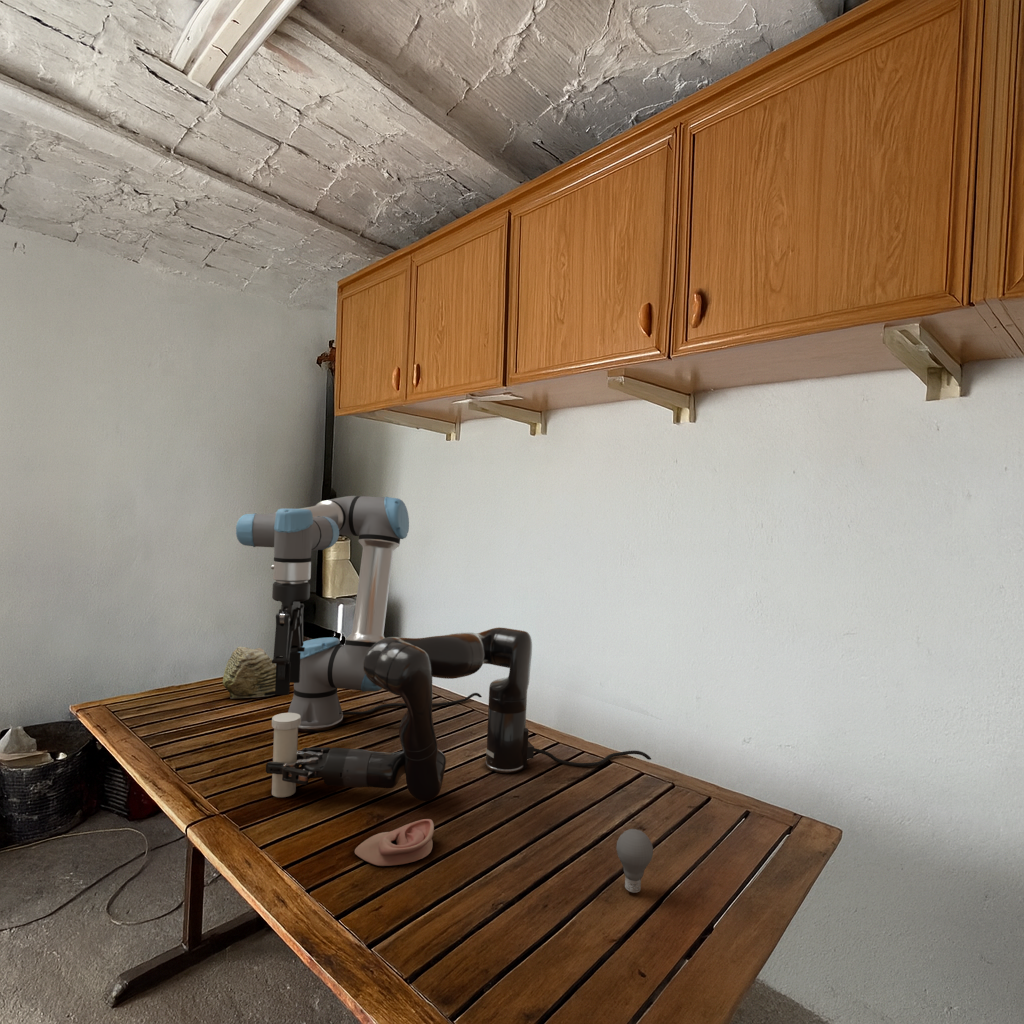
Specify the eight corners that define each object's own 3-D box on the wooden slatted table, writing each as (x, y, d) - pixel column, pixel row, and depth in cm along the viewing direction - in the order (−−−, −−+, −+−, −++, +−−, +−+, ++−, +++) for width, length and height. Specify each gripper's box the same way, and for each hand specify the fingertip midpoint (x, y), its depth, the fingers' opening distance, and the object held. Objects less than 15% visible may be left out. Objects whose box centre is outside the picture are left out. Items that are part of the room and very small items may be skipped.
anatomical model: (347, 838, 110) (374, 807, 122) (346, 860, 111) (373, 828, 122) (419, 850, 108) (440, 817, 119) (418, 873, 108) (439, 838, 119)
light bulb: (610, 879, 108) (613, 822, 108) (644, 879, 109) (647, 822, 109) (619, 902, 102) (622, 840, 102) (655, 901, 103) (658, 840, 103)
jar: (267, 791, 135) (269, 718, 135) (288, 784, 139) (291, 713, 138) (278, 799, 132) (281, 725, 131) (300, 792, 135) (303, 719, 135)
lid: (266, 724, 135) (266, 716, 135) (291, 718, 139) (292, 710, 139) (280, 732, 131) (280, 724, 131) (305, 725, 135) (306, 717, 135)
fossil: (218, 695, 195) (220, 647, 195) (278, 685, 208) (279, 640, 207) (228, 703, 189) (230, 653, 188) (289, 692, 201) (290, 645, 201)
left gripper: (286, 574, 144) (282, 674, 145) (258, 587, 124) (254, 703, 124) (320, 575, 145) (316, 674, 145) (297, 588, 124) (293, 703, 125)
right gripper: (361, 737, 141) (287, 732, 142) (339, 764, 127) (257, 758, 128) (360, 770, 141) (286, 765, 142) (338, 801, 127) (256, 794, 128)
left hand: (287, 687), depth 135 cm, fingers open, 8 cm apart
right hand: (272, 762), depth 135 cm, fingers closed on jar, 5 cm apart
